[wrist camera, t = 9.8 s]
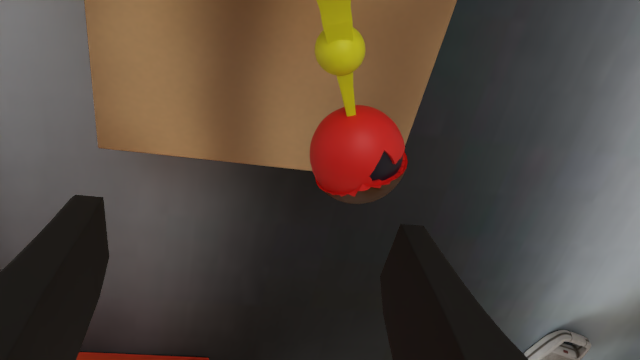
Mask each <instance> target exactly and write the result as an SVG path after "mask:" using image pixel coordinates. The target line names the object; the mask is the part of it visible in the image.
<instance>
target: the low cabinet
mask: <svg viewBox="0 0 640 360" xmlns="http://www.w3.org/2000/svg"><path fill="white" fill-rule="evenodd" d="M456 2H457V0H351V13H352V21H353V28H355V29H356V30H357V31H358V32H359V33H360V34H361V36H362V38H363V40H364V42H365V56H364V59H363V61H362V63H361V65H360V66H359V67H358V68H357V69H356V70H355V71H353V88H354V99H355V105H364V106H369V107H373V108H376V109H378V110H380V111H381V112H383V113H384V114H386V115H387V116H388V117H389V118H390V119H392V120H393V122H394V123H395V124H396V125H397V127H398V129H399V131H400V133H401V135H402V137H403V140H404V145H405V144H406V142H407V139H408V136H409V133H410V131H411V128H412V125H413V122H414V119H415V117H416V114H417V111H418V108H419V105H420V103H421V100H422V97H423V94H424V91H425V89H426V86H427V83H428V80H429V77H430V75H431V72H432V69H433V66H434V63H435V61H436V58H437V55H438V52H439V50H440V47H441V44H442V41H443V38H444V36H445V33H446V30H447V27H448V24H449V22H450V19H451V16H452V13H453V10H454V8H455V5H456ZM84 4H85V15H86V25H87V36H88V46H89V57H90V68H91V78H92V89H93V99H94V110H95V121H96V131H97V142H98V148H104V149H113V150H122V151H132V152H141V153H150V154H159V155H169V156H178V157H187V158H196V159H206V160H215V161H224V162H234V163H243V164H252V165H261V166H271V167H280V168H289V169H298V170H308V171H312V167H311V163H310V144H311V140H312V137H313V135H314V133H315V131H316V129H317V127H318V125H319V124H320V123H321V121H322V120H323V119H324V118H325V117H326V116H328V115H329V114H330V113H332V112H334V111H335V110H338V109H340V108H342V107H344V103H343V99H342V95H341V91H340V87H339V83H338V80H337V76H336V75H333V74H330V73H328V72H326V71H325V70H324V69H323V68H322V67H321V66H320V65H319V64H318V62H317V59H316V56H315V43H316V40H317V38H318V36H319V35H320V33H321V32H322V31H323V30H324V29H323V26H322V20H321V14H320V9H319V6H318V3H317V1H316V0H84Z"/></svg>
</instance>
